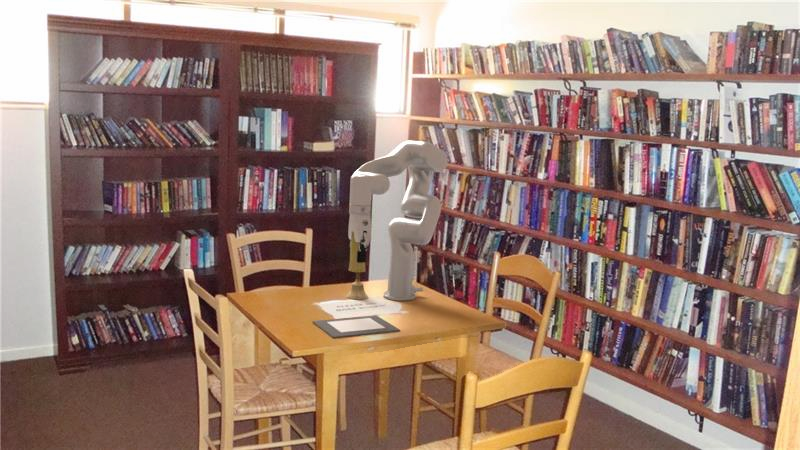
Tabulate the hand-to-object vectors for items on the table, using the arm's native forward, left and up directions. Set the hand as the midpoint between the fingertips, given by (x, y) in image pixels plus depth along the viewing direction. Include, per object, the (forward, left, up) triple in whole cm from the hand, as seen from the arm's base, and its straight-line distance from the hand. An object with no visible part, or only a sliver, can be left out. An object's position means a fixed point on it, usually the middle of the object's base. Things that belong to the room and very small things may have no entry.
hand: (357, 259), depth 259 cm
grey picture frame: (+6, +15, -19) cm, 25 cm away
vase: (0, 0, -4) cm, 4 cm away
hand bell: (-11, -21, -20) cm, 31 cm away
